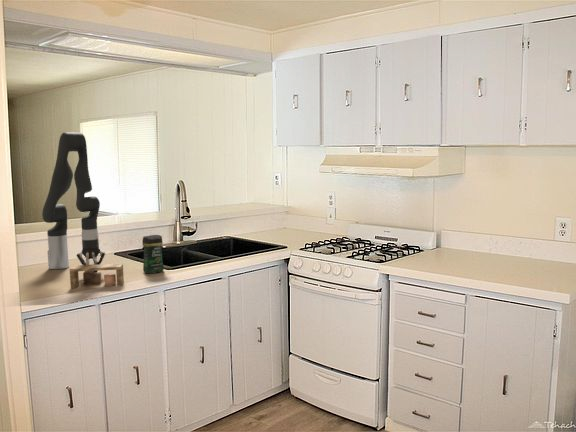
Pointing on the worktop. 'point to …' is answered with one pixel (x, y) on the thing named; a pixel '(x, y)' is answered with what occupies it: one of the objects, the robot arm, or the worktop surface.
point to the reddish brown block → (110, 279)
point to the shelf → (74, 270)
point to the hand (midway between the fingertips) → (92, 272)
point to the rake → (92, 277)
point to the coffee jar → (152, 254)
